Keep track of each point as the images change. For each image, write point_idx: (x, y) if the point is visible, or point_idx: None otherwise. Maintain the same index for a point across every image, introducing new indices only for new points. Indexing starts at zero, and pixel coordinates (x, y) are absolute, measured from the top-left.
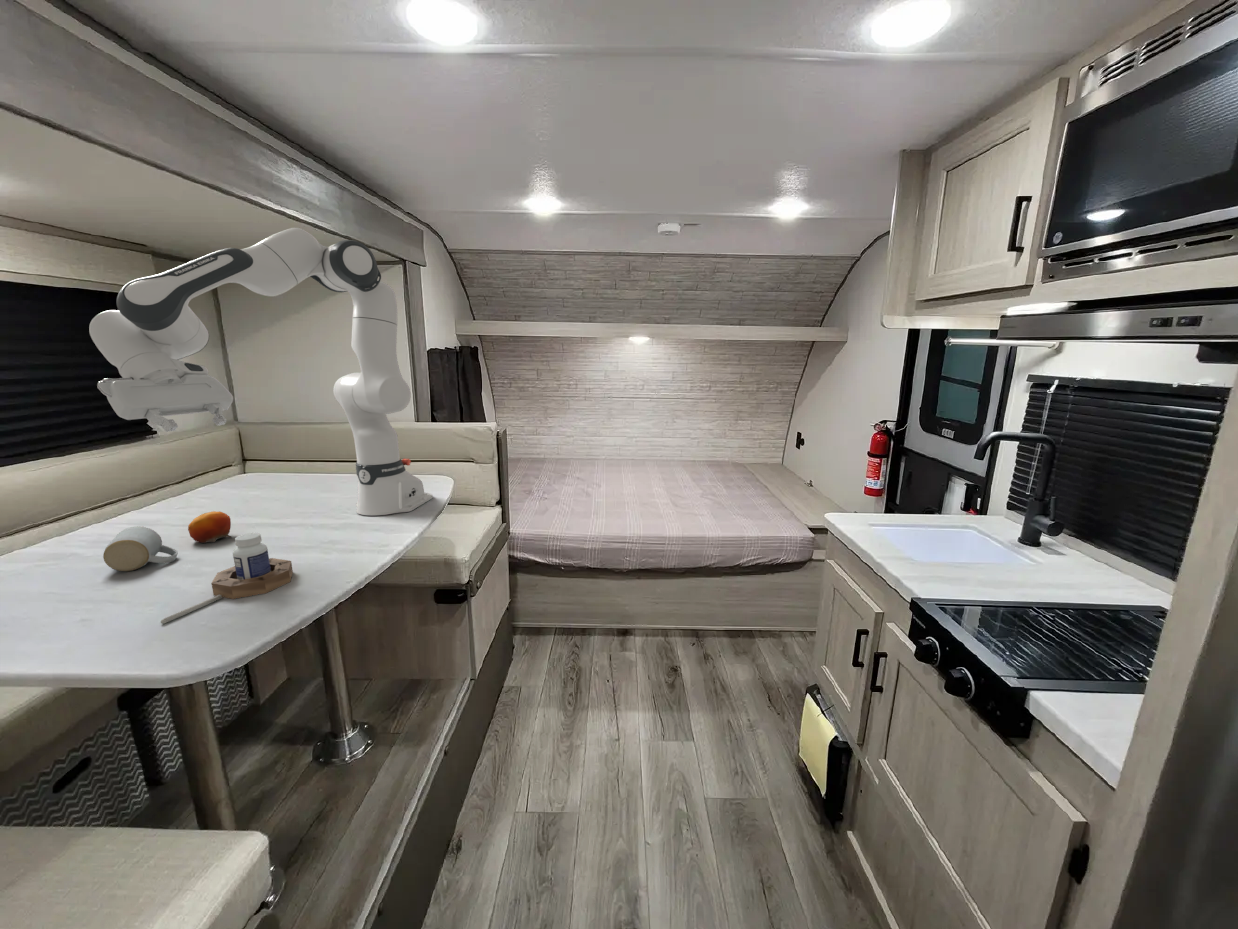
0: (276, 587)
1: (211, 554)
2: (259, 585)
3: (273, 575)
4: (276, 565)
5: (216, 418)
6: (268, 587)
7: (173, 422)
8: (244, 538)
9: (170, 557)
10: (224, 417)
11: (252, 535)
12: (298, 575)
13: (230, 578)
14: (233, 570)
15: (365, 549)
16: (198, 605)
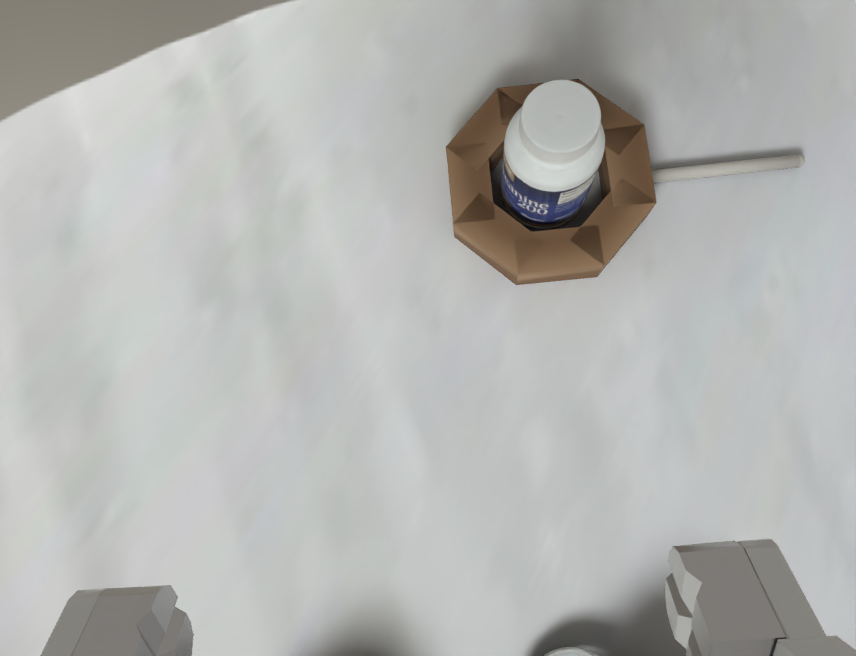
0: None
1: (451, 588)
2: None
3: None
4: (489, 153)
5: (150, 648)
6: None
7: (713, 589)
8: (581, 102)
9: (563, 647)
10: (63, 622)
11: (547, 108)
12: (456, 128)
13: (611, 183)
14: (570, 238)
15: (231, 119)
16: (713, 164)
